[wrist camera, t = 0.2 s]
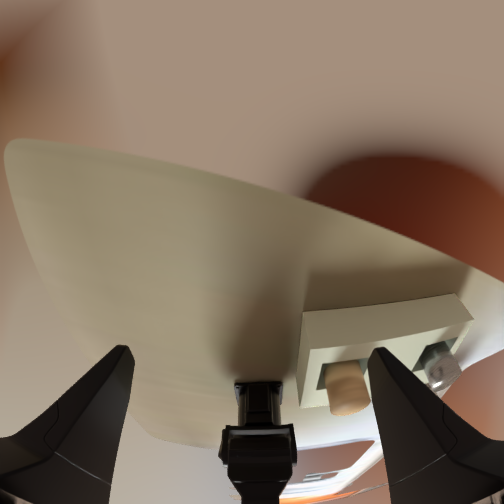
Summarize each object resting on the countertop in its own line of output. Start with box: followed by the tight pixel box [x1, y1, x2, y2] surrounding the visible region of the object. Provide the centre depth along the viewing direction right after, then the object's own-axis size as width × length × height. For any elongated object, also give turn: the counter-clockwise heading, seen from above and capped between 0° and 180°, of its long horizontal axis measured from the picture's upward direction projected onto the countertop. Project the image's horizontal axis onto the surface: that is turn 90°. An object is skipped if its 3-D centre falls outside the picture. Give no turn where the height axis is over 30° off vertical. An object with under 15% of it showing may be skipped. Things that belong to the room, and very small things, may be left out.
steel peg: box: [419, 341, 462, 392], centre depth 23 cm, size 4×4×5 cm
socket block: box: [296, 293, 474, 408], centre depth 27 cm, size 12×20×5 cm, turn 93°
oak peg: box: [323, 359, 371, 416], centre depth 23 cm, size 4×4×5 cm
